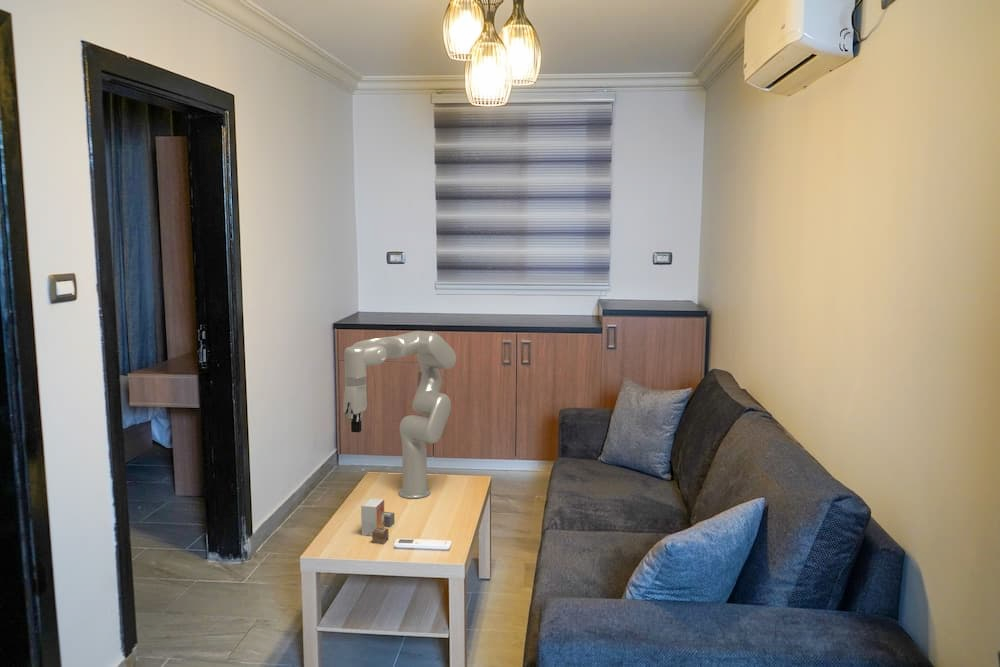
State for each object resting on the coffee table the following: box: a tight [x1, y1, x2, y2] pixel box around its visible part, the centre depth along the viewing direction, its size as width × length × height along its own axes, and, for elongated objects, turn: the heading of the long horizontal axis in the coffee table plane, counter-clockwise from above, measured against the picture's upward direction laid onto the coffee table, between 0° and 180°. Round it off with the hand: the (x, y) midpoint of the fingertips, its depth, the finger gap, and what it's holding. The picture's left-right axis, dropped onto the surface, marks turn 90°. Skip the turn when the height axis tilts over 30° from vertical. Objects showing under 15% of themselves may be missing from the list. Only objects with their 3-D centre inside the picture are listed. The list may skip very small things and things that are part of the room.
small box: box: [360, 497, 385, 537], centre depth 258 cm, size 8×6×10 cm
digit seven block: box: [371, 527, 389, 545], centre depth 250 cm, size 4×4×4 cm
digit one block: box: [384, 511, 395, 529], centre depth 265 cm, size 4×4×4 cm
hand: (356, 431), depth 267 cm, fingers closed
